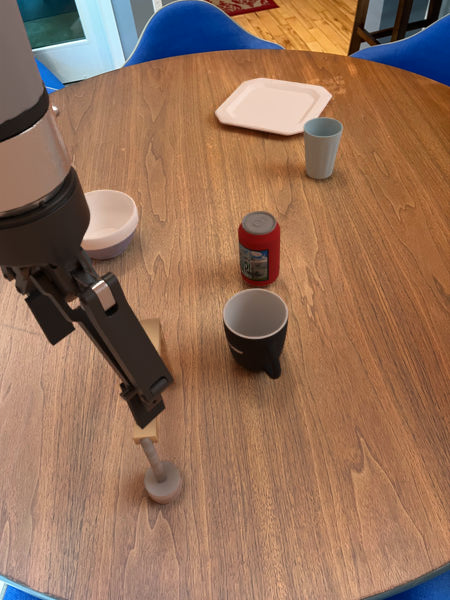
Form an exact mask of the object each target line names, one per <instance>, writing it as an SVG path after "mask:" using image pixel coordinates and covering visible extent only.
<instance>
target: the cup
mask: <svg viewBox="0 0 450 600" xmlns="http://www.w3.org/2000/svg"><path fill="white" fill-rule="evenodd" d="M343 130H344V126H343V124H342V122H341V121H339V120H338V119H336V118H332V117H325V116H323V117H322V116H321V117H320V116H319V117H318V118H314V119H311V120H309V121H307V122H306V123H305V124H304V132H303V143H304V144H303V145H304V159H305V161H304V162H305V163H304V164H305V173H306V175H307V176H308V177H309V178H311V179H315V180H324V179H327V178H329V177H330V176H331V175H333V171H334V168H335V167H334V166H335V162H336V158H337V155H338V150H339V146H340V143H341V138H342V134H343Z"/></svg>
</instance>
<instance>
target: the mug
mask: <svg viewBox="0 0 450 600" xmlns="http://www.w3.org/2000/svg"><path fill="white" fill-rule="evenodd" d="M222 325H223V331H224V335H225V339H226V343H227V346H228V349H229V351H230V354H231V356H232V358H233V360H234V362H235V363H236V364H237V365H238V366H239V367H240V368H242V369H243V370H245V371H247V372H251V373H262V372H264V373H265V374H266V375H267V376H268V378H269V379H271V380H278V379H279V378H280V377H281V376H282V365H281V361H280V357H281V356H282V353H283V350H284V346H285V343H286V339H287V333H288V326H289V309H288V305H287V304H286V302H285V300H284V299H283V298H282V297H281V296H280V295H278V294H277V293H276V292H274V291H272V290H271V291H270V290H268V289H264V288H248V289H244V290H241V291H238V292H236V293H234V294H233V295H232V296H230V298H228V299H227V301H226V302H225V304H224V306H223V309H222Z"/></svg>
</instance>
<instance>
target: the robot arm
mask: <svg viewBox="0 0 450 600" xmlns="http://www.w3.org/2000/svg"><path fill="white" fill-rule="evenodd" d="M27 33H28V32H27V30H26V27H25V23H24V20H23V17H22V15H21V11H20V8H19V5H18V2H17V0H0V270H1V273H2V276H3V278H4V280H7V281H8V282H10V283H11V282H13V281H14V280H15V284H14V288H15V291H17V293H18V294H20V295H21V296H23V297H24V296H25V295H26V296H27V297H25V298H24V301H25V304H26V305H27V307H28V308H29V310H30V312H31V314H32V315H33V317H34V319H35V320H36V322H37V324H38V325H39V327H40V329H41V331H42V332H43V334H44V336H45V338H46V339H47V341H48V343H49V344H50V345H51V346H52V347H54V346H56V345H57V344H58V343H60V342H61V341H63V340H64V339H65V338H66V337H68V336H69V335H70V334H72V333H73V332H75V330H77V329H76V327H75V324H74V323H77V324H78V325H79V327H80V328H81V330H83V332H84V334H85V335H86V336H87V337H88V338H89V340H90V341H91V342H92V344H93V345H94V346H95V348H96V349H97V351H99V352H98V353H100V354H101V356H102V357H103V358H104V360H105V361H106V362H107V364H108V365H109V367H110V368H111V369H112V371H113V372H114V373H115V374H116V375H117V377H118V378H119V380H120V381H121V382H120V383H119V384H118V386H119V388H120V390H121V392H120V393H119V394H118V395H119V397H120V398H121V399H122V400H123V401H125V402H126V403H127V406H128V408H129V411H130V413H131V415H132V417H133V420H134V419H135V422H136V424H137V425H138V426H139V427H140V428H141V429H142V430H143V429H144V428H145V427H146V426H147V425H148V424H149V423H150V422H151V421H152V420H154V419H155V418H156V417H157V416H158V415H159V416H160V414H161V413H162V412H164V411H165V409H166V404H165V402H164V398H163V396H162V394H163V393H164V392H165V391H166V390H167V389H168V388H169V387H170V386H171V385H172V383H173V382H174V379H173V377H172V375H171V373H170V372H169V370H168V368H167V367H166V365H165V363H164V362H163V360H162V358H161V357H160V355H159V353H158V352H157V350H156V348H155V347H154V345H153V343H152V342H151V340H150V338H149V337H148V335H147V333H146V332H145V330H144V328H143V327H142V325H141V323H140V320H139V318H138V317H137V315H136V313H135V312H134V310H133V309H132V307H131V305H130V304H129V302H128V300H127V297H126V295H125V293H124V290H123V287H122V285H121V283H120V280H119V278H118V277H117V276H116V275H115V274H114V273H113V272H112V271H107V272H105V273H104V274H103V275H101V276H100V275H99V274H98V273H97V271H96V270H95V268H94V267H93V261H92V258H91V257H89V256H88V254H87V253H86V252H85V250H84V249H83V248H82V247H81V243H82V240H83V238H84V235H85V233H86V231H87V229H88V227H89V224H90V210H89V206H88V204H87V201H86V198H85V195H84V193H85V192H84V189H83V187H82V184H81V182H80V178H79V175H78V173H77V170H76V169H75V167H73V165H72V159H71V155H70V152H69V149H68V147H67V144H66V140H65V138H64V136H63V132H62V129H61V127H60V123H59V121H58V117H59V116H60V114H61V112H60V108H59V106H58V104H56V103H55V102H54V101H52V100H51V99H50V95H49V92H48V90H47V86H46V83H45V81H44V80H43V78H42V76H41V73H40V70H39V67H38V63H37V60H36V58H35V54H34V52H33V49H32V46H31V43H30V40H29V36H28V34H27ZM77 299H78V302H79V305H77V306H76V307H74V308H72V307H71V306H70V304H69V303H71V302H74V301H75V300H77ZM173 384H174V383H173Z"/></svg>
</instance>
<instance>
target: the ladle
mask: <svg viewBox="0 0 450 600" xmlns="http://www.w3.org/2000/svg"><path fill="white" fill-rule="evenodd" d="M139 322H140V323H141V325H142V327H143V328H144V330H145V332H146V333H147V335H148V337H149V338H150V340H151V342H152V343H153V345H154V347H155V348H156V350H157V352H158V353H159V355H160V357H161V358H162V360H163V362H164V363H165V365H166V367H167V368H168V370H169V372H170V373H171V375H172V377H173V379H174V382H173V383H172V384H176V375H175V371H174V367H173V364H172V360H171V357H170V353H169V349H168V345H167V342H166V338H165V335H164V331H163V327H162V323H161V320H160V317H154V318H143V319H140V320H139ZM172 384H171V385H172ZM159 422H160V414H159V415H158V416H157V417H156V418H155V419H154V420H152V421H151V422H150V423H149V424H148V425H147V426H146V427H145V428H144V429H143V430H142V429H141V428H140V427H139V426H138V425H137V424H136V422H135V419H134V418H133V427H132V428H133V429H132V440H133V442H134V444H135V446H137V445H140V446H141V448H142V451H143V452H144V454H145V457H146V459H147V461H148V463H149V465H150V466H149V467H148V468H147V470H146V472H145V474H144V478H143V485H144V487H145V489H146V492H147V494H148V495H149V497H150V498H151V500H152V501H154V502H155V503H158V504H163V505H164V504H170V503H172V502H174V501H175V500H177V498H179V496H180V495H181V493H182V490H183V487H184V486H183V485H184V484H183V478H182V475H181V472H180V470H179V468H178V466H176V464H175V463H174V462H172V461H169V460H161V459H160V457H159V454H158V452H157V448H156V447H155V445H154V444H159Z"/></svg>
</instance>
